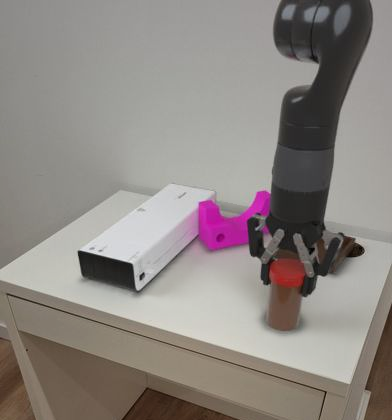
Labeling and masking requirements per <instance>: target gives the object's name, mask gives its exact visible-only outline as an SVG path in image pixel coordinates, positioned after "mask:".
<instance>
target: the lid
mask: <svg viewBox="0 0 392 420" xmlns="http://www.w3.org/2000/svg"><path fill="white" fill-rule="evenodd" d="M305 275H306V271H305V268H304V264H303V263H301V261H299V260H296V259H290V258H284V259H275V261H274V262H272V263H271V265H270V270H269V278H270V279H271V281H273V282H274V283H276V284H278V285H281V286H285V287H296V286H300V285H303V283H304V276H305Z"/></svg>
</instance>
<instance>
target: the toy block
mask: <svg viewBox="0 0 392 420" xmlns="http://www.w3.org/2000/svg"><path fill="white" fill-rule="evenodd" d="M270 194H271V192H269V191H268V190H264V189H263V190H258V191H256V194H255V196H254V199H253V201H252V203H251V204H250V206H249V207H248V208H247V209H246V210H245V211H244V212H242V213H241V214H239V215H237V216H232V217H226V216H222V213H221V211H220V207H219V206H218V205H217V203H216V204H215V203H214V202H213V201H212V200H207V201H202V202H198V205H199V235H198V238H199V239H200V240H201V241H202V242H203V243H204V245H205V246H206V247H207V248H208V249H209V250H210V251H214V250H219V249H224V248H229V247H234V246H238V245H244V244H249V240H248V229H247V220H248V219H249V218H250V217H251V216H252V215H254V214H255V213H257V212H258V213H260V214H261V215H262V216H268V214H269V204H270ZM265 233H270V232H269V231H268V229H267V227H266V224H265V228H264V229H263V234H265Z"/></svg>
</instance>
